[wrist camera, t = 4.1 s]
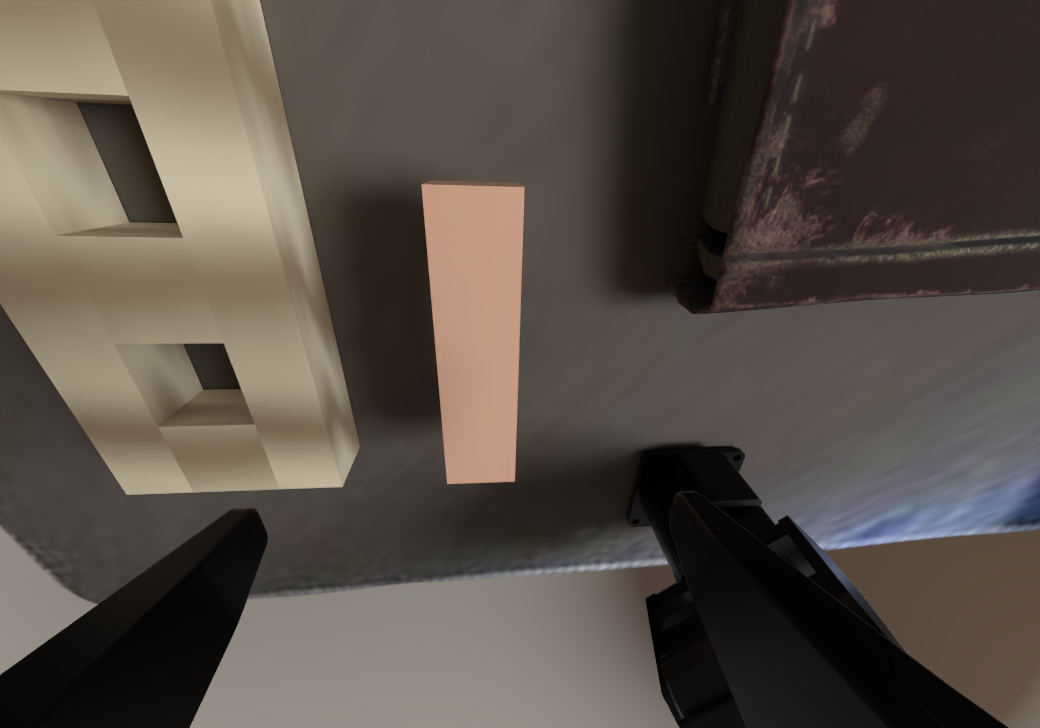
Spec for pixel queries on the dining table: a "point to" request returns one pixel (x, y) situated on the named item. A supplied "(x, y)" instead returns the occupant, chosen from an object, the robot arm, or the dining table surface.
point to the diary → (869, 152)
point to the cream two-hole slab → (168, 247)
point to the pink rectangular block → (476, 321)
